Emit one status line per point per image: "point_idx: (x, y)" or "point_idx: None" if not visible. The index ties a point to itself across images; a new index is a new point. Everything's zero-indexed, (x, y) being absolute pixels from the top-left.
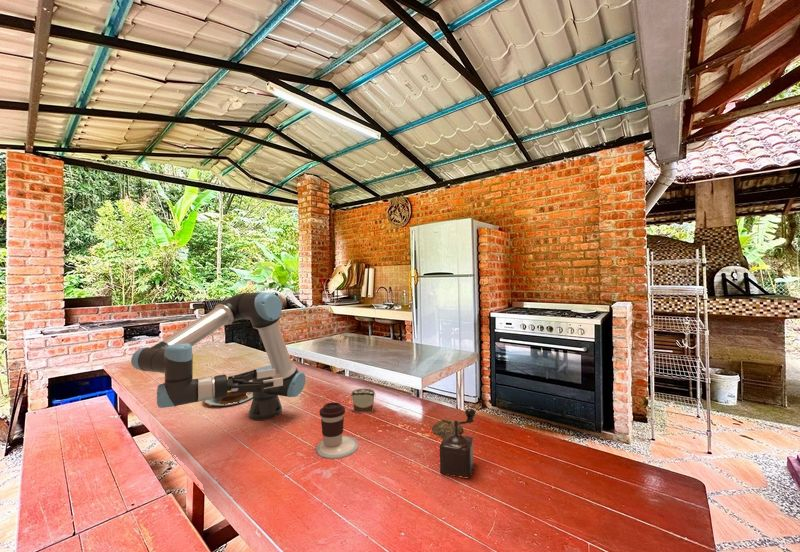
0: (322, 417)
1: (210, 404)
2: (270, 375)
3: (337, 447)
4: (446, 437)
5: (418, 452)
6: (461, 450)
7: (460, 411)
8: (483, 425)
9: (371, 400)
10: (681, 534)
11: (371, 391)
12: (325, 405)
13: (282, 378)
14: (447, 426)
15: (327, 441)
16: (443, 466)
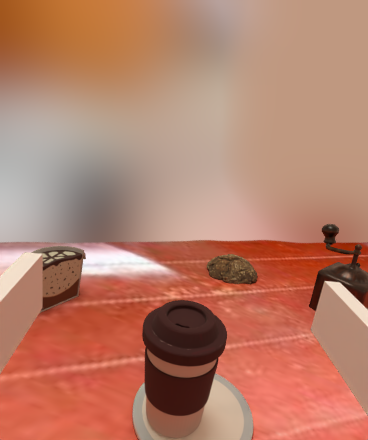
0: (190, 367)
1: None
2: (28, 320)
3: (205, 414)
4: (336, 275)
5: (280, 319)
6: None
7: (182, 241)
8: (235, 249)
9: (77, 270)
10: None
11: (63, 250)
12: (175, 326)
13: (339, 287)
14: (242, 264)
15: (194, 421)
16: None
